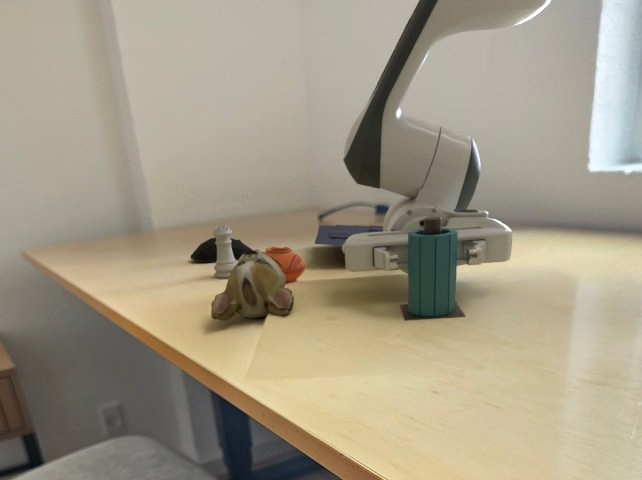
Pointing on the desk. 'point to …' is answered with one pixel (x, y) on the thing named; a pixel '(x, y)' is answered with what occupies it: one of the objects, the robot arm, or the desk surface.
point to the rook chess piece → (223, 252)
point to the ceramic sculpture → (253, 289)
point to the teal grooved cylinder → (432, 272)
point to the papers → (341, 233)
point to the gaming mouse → (209, 250)
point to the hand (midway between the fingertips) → (433, 260)
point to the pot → (287, 262)
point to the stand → (434, 228)
